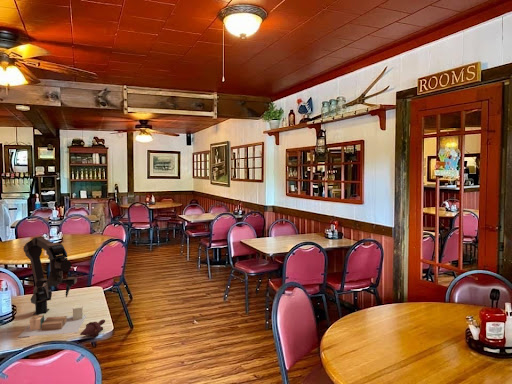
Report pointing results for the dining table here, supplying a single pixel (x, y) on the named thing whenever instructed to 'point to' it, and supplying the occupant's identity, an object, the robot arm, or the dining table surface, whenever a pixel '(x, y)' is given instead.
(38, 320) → the maple block
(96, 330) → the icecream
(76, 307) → the beige rectangular block
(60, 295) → the dining table surface
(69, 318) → the mat
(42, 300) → the robot arm
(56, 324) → the plinth
